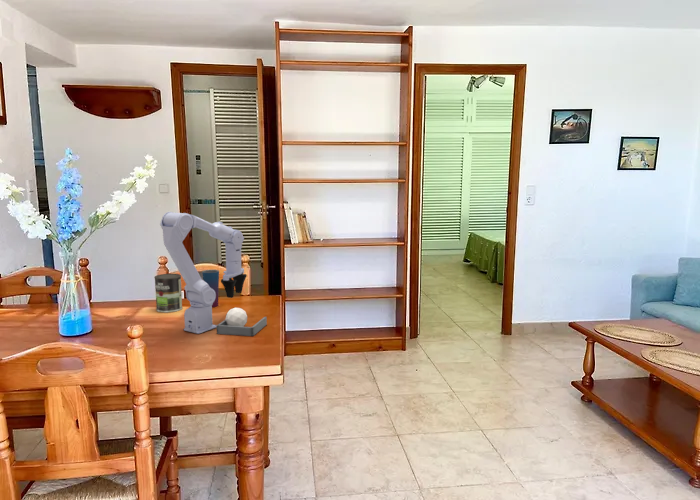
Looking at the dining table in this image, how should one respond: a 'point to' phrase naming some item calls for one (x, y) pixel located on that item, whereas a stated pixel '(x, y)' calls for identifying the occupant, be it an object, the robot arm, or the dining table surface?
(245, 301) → the dining table surface
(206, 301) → the robot arm
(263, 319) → the tray
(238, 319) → the geometric ball
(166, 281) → the coffee can
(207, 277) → the cup
